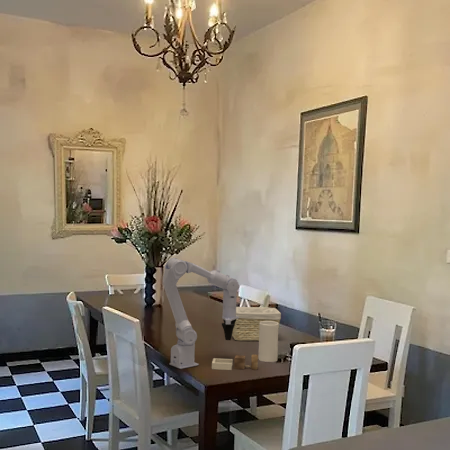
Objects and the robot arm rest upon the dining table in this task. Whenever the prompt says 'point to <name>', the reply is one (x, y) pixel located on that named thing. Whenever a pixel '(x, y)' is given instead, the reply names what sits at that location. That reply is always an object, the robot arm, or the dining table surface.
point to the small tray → (222, 364)
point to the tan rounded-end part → (240, 362)
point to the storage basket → (252, 321)
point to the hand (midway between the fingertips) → (228, 337)
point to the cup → (268, 341)
